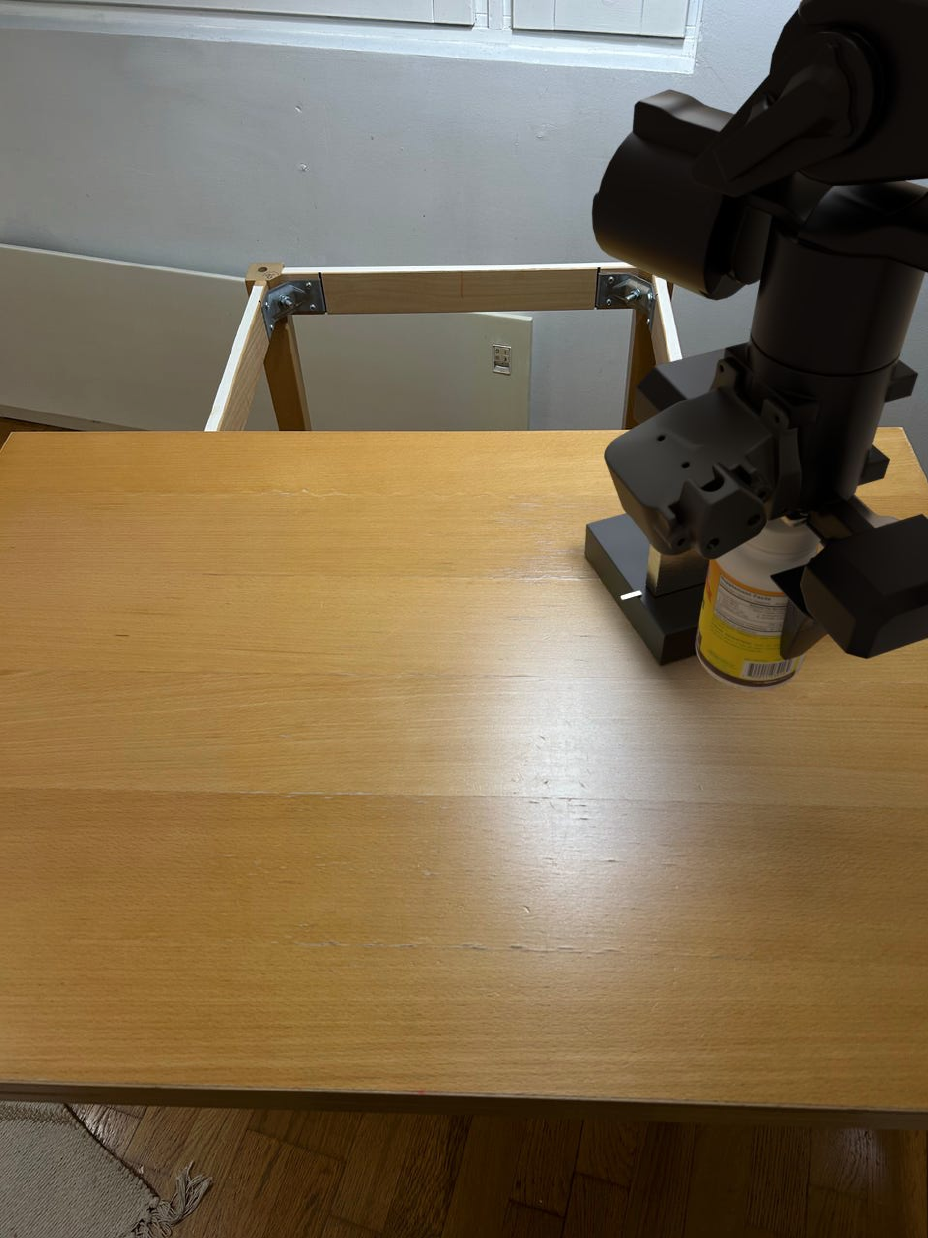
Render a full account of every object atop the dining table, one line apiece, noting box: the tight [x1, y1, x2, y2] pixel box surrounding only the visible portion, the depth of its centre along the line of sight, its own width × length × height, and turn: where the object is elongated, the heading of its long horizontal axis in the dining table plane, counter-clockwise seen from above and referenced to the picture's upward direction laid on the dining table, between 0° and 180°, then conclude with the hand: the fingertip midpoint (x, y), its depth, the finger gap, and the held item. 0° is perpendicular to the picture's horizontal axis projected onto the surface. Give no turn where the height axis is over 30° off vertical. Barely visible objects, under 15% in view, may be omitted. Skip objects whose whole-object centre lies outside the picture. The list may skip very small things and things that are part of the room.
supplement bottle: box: [696, 518, 821, 692], centre depth 48 cm, size 6×6×10 cm
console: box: [583, 512, 706, 667], centre depth 69 cm, size 13×15×3 cm
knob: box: [645, 544, 710, 597], centre depth 65 cm, size 5×1×5 cm, turn 110°
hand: (757, 616), depth 50 cm, fingers closed on supplement bottle, 5 cm apart
